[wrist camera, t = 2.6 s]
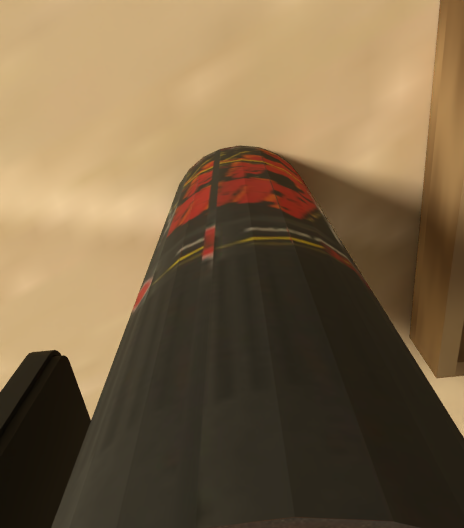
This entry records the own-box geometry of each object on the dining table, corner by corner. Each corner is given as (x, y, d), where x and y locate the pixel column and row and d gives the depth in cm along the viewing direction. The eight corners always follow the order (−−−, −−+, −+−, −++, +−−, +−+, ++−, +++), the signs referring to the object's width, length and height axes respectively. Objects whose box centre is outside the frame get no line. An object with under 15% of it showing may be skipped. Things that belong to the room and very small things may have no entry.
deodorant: (337, 210, 18) (674, 671, 4) (244, 297, 20) (281, 801, 6) (238, 113, 16) (300, 397, 3) (145, 219, 18) (-95, 698, 4)
